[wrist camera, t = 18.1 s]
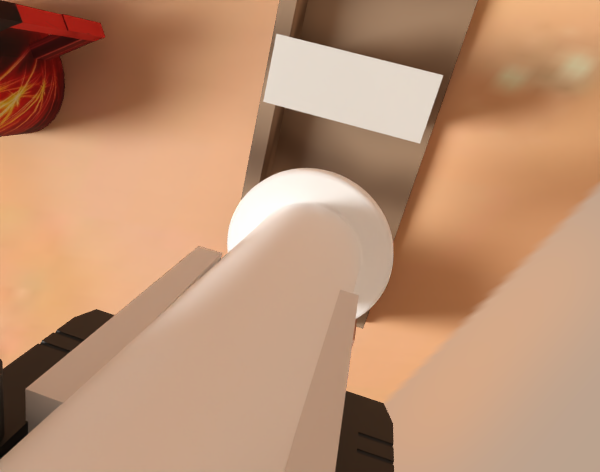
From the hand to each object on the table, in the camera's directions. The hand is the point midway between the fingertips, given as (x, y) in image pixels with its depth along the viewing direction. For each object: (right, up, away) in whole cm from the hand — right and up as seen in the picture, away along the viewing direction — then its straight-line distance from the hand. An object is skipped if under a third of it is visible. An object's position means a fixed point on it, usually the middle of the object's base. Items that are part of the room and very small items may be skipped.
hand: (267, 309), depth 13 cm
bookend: (+5, +12, +14) cm, 19 cm away
